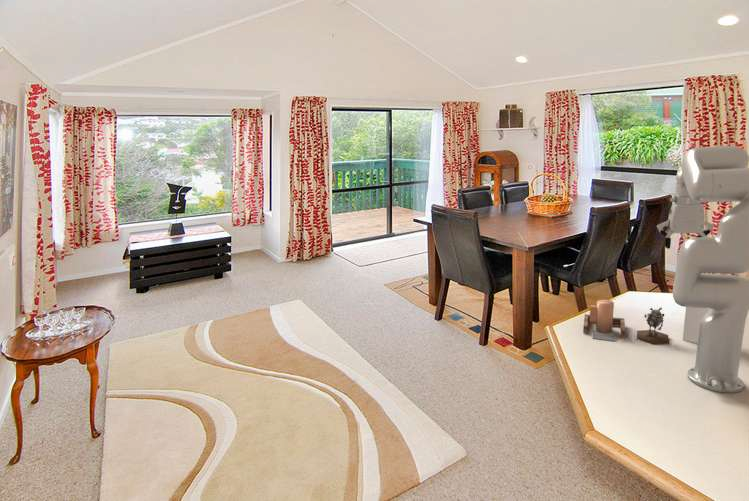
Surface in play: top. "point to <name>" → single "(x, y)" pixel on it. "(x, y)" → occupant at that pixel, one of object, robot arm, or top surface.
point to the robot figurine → (652, 335)
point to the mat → (603, 337)
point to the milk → (693, 323)
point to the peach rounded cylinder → (602, 315)
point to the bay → (616, 322)
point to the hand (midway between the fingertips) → (682, 247)
